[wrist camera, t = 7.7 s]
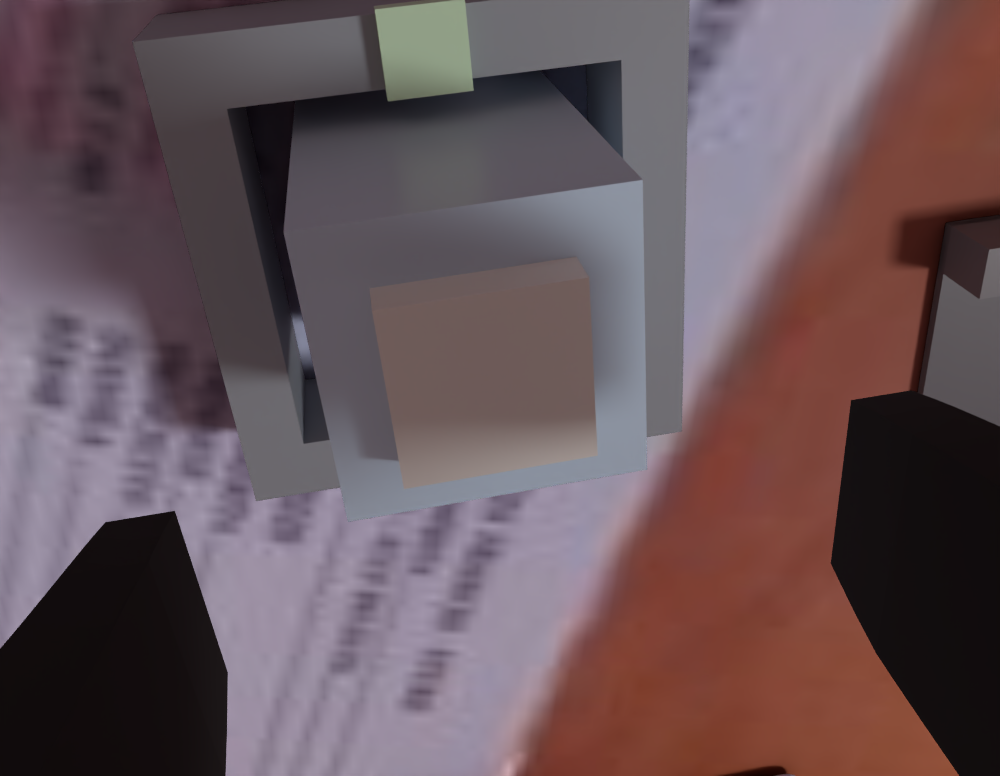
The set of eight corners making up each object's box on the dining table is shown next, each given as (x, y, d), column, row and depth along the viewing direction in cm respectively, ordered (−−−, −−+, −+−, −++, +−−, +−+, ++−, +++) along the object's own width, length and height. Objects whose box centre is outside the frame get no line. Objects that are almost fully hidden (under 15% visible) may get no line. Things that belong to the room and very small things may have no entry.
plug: (552, 286, 18) (660, 495, 12) (339, 320, 17) (349, 551, 12) (537, 67, 16) (658, 197, 10) (295, 100, 15) (281, 253, 10)
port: (645, 372, 19) (687, 439, 17) (262, 432, 18) (255, 511, 16) (643, -48, 15) (697, -28, 13) (154, 8, 14) (126, 38, 12)
